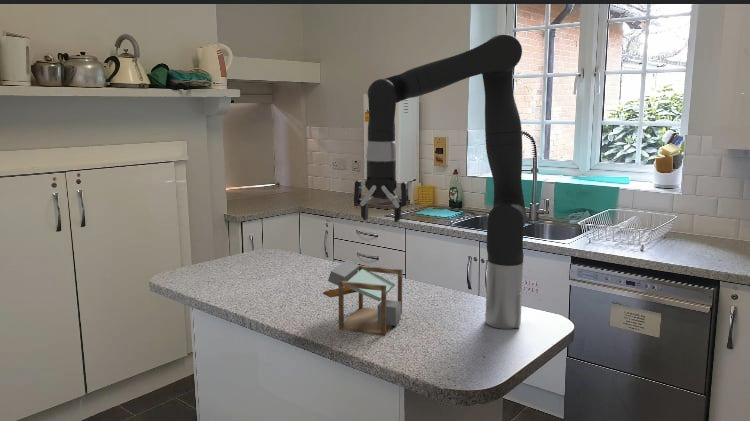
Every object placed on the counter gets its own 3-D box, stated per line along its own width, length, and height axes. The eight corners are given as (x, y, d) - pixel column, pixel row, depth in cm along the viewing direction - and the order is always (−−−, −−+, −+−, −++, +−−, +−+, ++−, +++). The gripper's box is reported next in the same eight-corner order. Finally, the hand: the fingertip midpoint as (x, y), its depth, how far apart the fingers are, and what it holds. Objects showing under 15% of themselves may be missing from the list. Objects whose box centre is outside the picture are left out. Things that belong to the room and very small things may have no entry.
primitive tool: (330, 298, 177) (329, 287, 177) (321, 294, 182) (321, 283, 181) (382, 288, 188) (382, 278, 187) (373, 284, 192) (373, 274, 192)
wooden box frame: (401, 313, 163) (402, 269, 161) (384, 335, 148) (385, 286, 146) (359, 309, 167) (359, 265, 165) (338, 329, 152) (338, 281, 149)
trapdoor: (393, 289, 162) (396, 279, 161) (378, 304, 148) (381, 294, 148) (345, 268, 165) (348, 258, 164) (326, 282, 152) (329, 272, 151)
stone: (383, 317, 159) (400, 319, 158) (377, 323, 154) (395, 325, 153) (383, 299, 158) (400, 301, 157) (377, 305, 154) (395, 307, 152)
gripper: (411, 158, 150) (410, 219, 153) (359, 156, 155) (359, 216, 157) (404, 160, 143) (403, 225, 146) (350, 159, 148) (350, 221, 150)
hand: (380, 220), depth 152 cm, fingers open, 8 cm apart
